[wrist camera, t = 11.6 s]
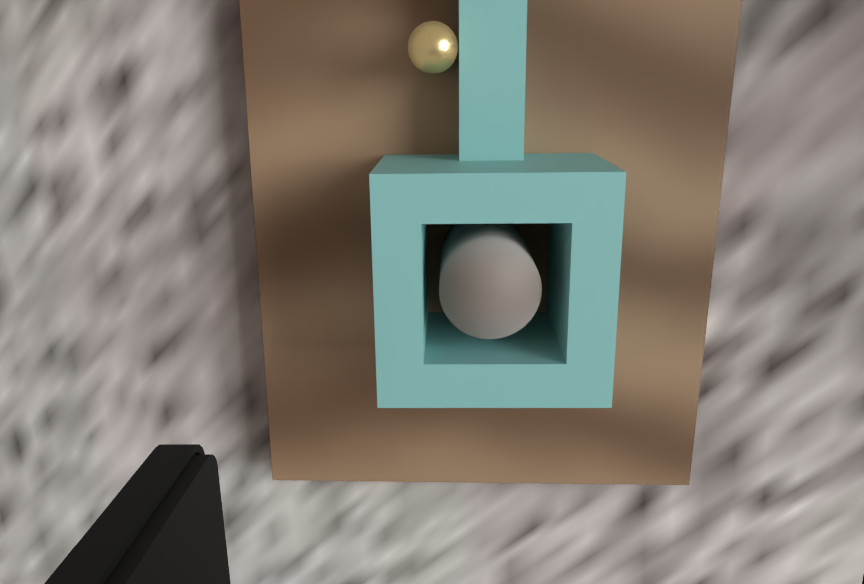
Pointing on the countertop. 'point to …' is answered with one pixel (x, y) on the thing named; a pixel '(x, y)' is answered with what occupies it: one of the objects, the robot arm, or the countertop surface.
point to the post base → (408, 111)
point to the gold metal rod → (432, 47)
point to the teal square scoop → (497, 204)
